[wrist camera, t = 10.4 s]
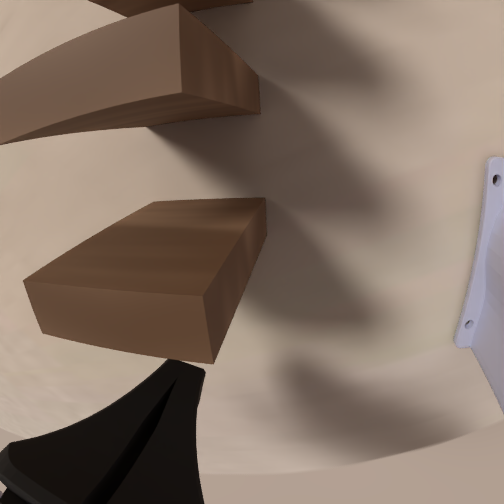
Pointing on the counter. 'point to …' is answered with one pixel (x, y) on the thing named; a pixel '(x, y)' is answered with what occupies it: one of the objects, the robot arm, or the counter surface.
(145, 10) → the domino
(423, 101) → the counter surface
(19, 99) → the domino
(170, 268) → the domino
